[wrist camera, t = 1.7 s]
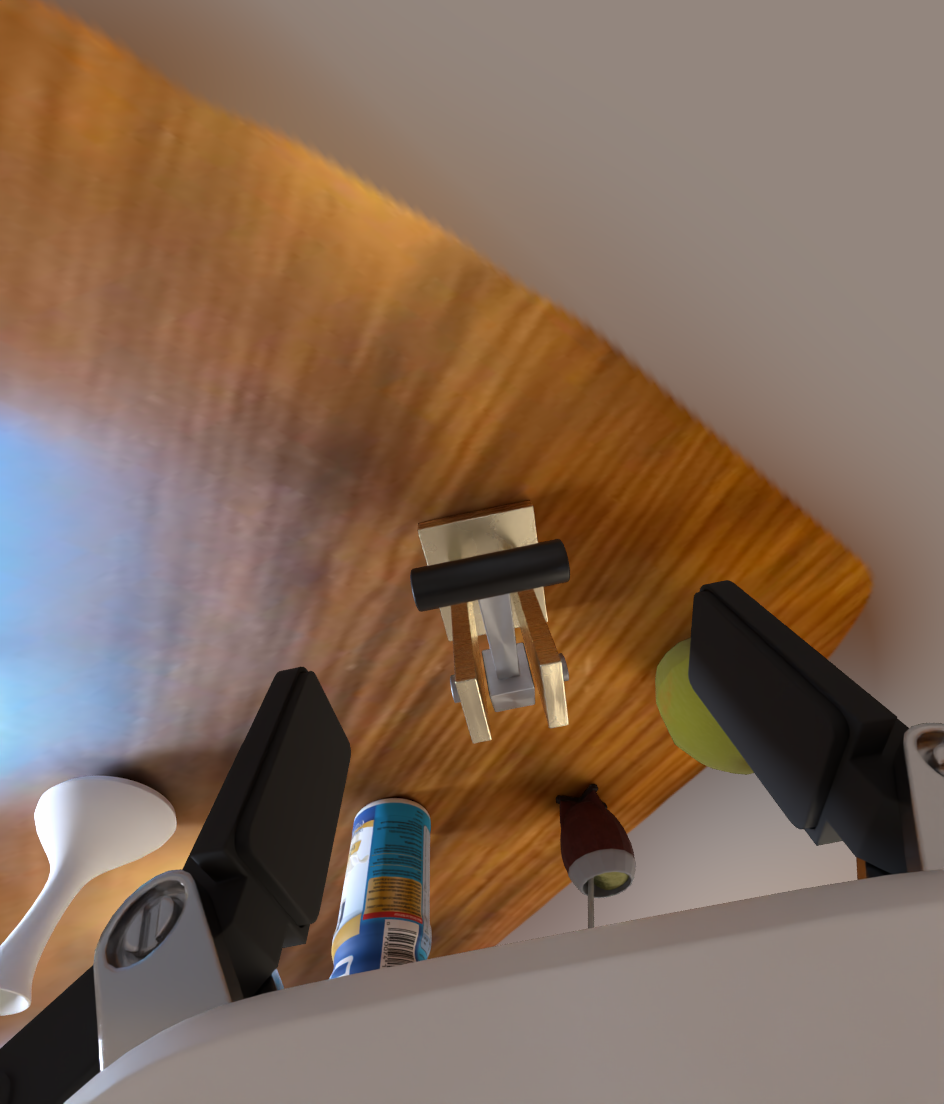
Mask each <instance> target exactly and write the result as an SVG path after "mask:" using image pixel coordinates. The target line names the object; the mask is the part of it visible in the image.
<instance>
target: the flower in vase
mask: <svg viewBox="0 0 944 1104" xmlns="http://www.w3.org/2000/svg"><path fill="white" fill-rule="evenodd" d="M35 823H36V829H37V833H38V836H39V838H40V841H41V843H42V845H43V848H44V850H45V852H46V854H47V856H48V859H49V862H50V868H51V871H50V875H49V879H48V881H47V883H46V885H45V887H44V889H43V891H42V892H41V894H40V895H39V897H38V898H37V900H36V901H35V903H34V904H33V906H32V907H31V908H30V910H29V911H28V913H27V914H26V915H25V917H24V918H23V919H22V921H21V922H20V923H19V924H18V926H17V927H16V928H15V929H14V930H13V932H12V933H11V934H10V935H9V937H8V938H7V939H6V940H5V941H4V942H3V943H2V945H1V946H0V1016H1V1015H10V1014H15V1013H19V1012H21V1011H24V1010H26V1009H27V1008H28V1007H29V1006H30V1004H31V987H32V981H33V976H34V973H35V970H36V966H37V963H38V961H39V959H40V956H41V954H42V952H43V950H44V947H45V945H46V943H47V941H48V940H49V938H50V936H51V934H52V932H53V930H54V928H55V927H56V925H57V923H58V922H59V920H60V918H61V917H62V915H63V913H64V912H65V910H66V909H67V907H68V906H69V904H70V903H71V901H72V900H73V898H74V897H75V896H76V894H77V893H78V892H79V891H80V890H81V888H82V887H83V886H84V885H85V884H87V883H88V882H89V881H90V880H91V879H93V878H95V877H96V876H98V875H100V874H102V873H105V872H107V871H109V870H112V869H114V868H117V867H120V866H122V865H125V864H128V863H130V862H132V861H135V860H137V859H140V858H142V857H144V856H146V855H148V854H149V853H151V852H153V851H155V850H157V849H158V848H160V847H161V846H162V845H163V844H164V843H165V842H166V841H167V840H168V839H169V838H170V837H171V836H172V835H173V833H174V832H175V829H176V825H177V822H176V813H175V810H174V808H173V806H172V804H171V803H170V802H169V801H168V800H167V799H166V798H165V797H164V796H163V795H162V794H160V793H159V792H157V791H156V790H154V789H152V788H150V787H148V786H146V785H144V784H141V783H138V782H135V781H132V780H128V779H124V778H119V777H112V776H83V777H77V778H73V779H70V780H67V781H65V782H62V783H60V784H58V785H56V786H54V787H52V788H50V789H49V790H47V791H46V792H45V793H44V794H43V795H42V797H41V798H40V800H39V802H38V805H37V808H36V810H35Z"/></svg>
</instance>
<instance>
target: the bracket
mask: <svg viewBox="0 0 944 1104" xmlns="http://www.w3.org/2000/svg"><path fill="white" fill-rule="evenodd" d="M418 534H419V537H420V541H421V544H422V548H423V551H424V555H425V558H426V562H427V566H429V565H434V564H439V563H443V562H448V561H453V560H458V559H463V558H468V557H473V556H477V555H482V554H487V553H492V552H497V551H502V550H507V549H511V548H516V547H521V546H526V545H531V544H536V543H538V539H537V532H536V524H535V516H534V508H533V505H532V503H531V502H530V500H527V501H523V502H518V503H513V504H508V505H503V506H499V507H494V508H489V509H484V510H479V511H475V512H470V513H465V514H460V515H455V516H451V517H446V518H441V519H436V520H431V521H427V522H422V523H418ZM510 598H511V606H512V614H513V622H514V628H518V627H520V628H521V632H522V635H523V639H524V642H525V646H526V649H527V653H528V656H529V659H530V663H531V666H532V670H533V673H534V677H535V680H536V683H537V687H538V690H539V694H540V697H541V701H542V704H543V708H544V711H545V714H546V718H547V721H548V725H549V728H555V727H560V726H565V725H568V724H569V723H568V715H567V706H566V697H565V688H564V681H568V680H569V674H568V668H567V664H566V661H565V658H564V656H563V654H562V653H560V654H558V651H557V649H556V646H555V644H554V641H553V639H552V636H551V633H550V631H549V628H548V626H547V623H546V622H547V621H548V618H547V610H546V602H545V594H544V587H540V588H535V589H530V590H525V591H520V592H515V593H510ZM440 612H441V615H442V619H443V622H444V626H445V630H446V633H447V637H448V640H449V641H453V653H454V670H455V675H451V677H450V683H451V690H452V695H453V699H454V701H455V703H458V702H461V704H462V708H463V711H464V715H465V718H466V722H467V725H468V729H469V732H470V736H471V739H472V742H473V743H478V742H483V741H488V740H491V739H492V738H491V731H490V724H489V717H488V709H487V702H486V695H485V688H484V681H483V674H482V667H481V660H480V653H479V645H478V638H477V636H479V635H483V634H486V630H485V626H484V622H483V618H482V614H481V610H480V606H479V602H478V600H476V601H471V602H466V603H461V604H456V605H452V606H447V607H442V608H440Z"/></svg>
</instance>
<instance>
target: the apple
mask: <svg viewBox="0 0 944 1104" xmlns="http://www.w3.org/2000/svg"><path fill="white" fill-rule="evenodd" d="M690 641H691V638H689V639H686V640H684V641H681V642H679V643H678V644H677V645H675V646H674V647H673V648H672V649H671V650H670V651H668V652H667V653H666V654H665V656H664V657H663V659H662V660H661V661H660V663H659V664H658V666H657V671H656V678H655V683H656V703H657V706H658V709H659V711H660V714H661V716H662V718H663V720H664V723H665V725H666V727H667V729H668V731H669V733H670V735H671V737H672V739H673V741H674V744H675V745H677V746H678V747H679V748H681V749H682V750H683V751H685V752H686V753H687V754H689V755H690V756H692V757H693V758H694V759H696V760H697V761H698V762H700V763H702V764H704V765H706V766H708V767H710V768H713V769H717V770H722V771H726V772H730V773H735V774H745V775H747V774H751V773H754V772H753V770H752V769H751V768H750V766H749V765H748V763H747V762H746V761H745V759H744V758H743V757H742V755H741V754H740V753H739V751H738V750H737V748H736V747H735V746H734V744H733V743H732V742H731V740H730V739H729V738H728V736H727V735H726V733H725V732H724V731H723V729H722V728H721V727H720V725H719V724H718V723H717V721H716V720H715V719H714V717H713V716H712V714H711V713H710V712H709V710H708V709H707V708H706V706H705V705H704V704H703V702H702V701H701V699H700V698H699V697H698V695H697V694H696V693H695V691H694V690H693V688H692V686H691V684H690V682H689V678H688V668H689V654H690Z"/></svg>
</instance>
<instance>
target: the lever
mask: <svg viewBox="0 0 944 1104" xmlns="http://www.w3.org/2000/svg"><path fill="white" fill-rule="evenodd" d="M410 579H411V588H412V593H413V597H414V601H415V604H416V606H417V608H418V610H419V611H427V610H432V609H437V608H442V607H447V606H452V605H456V604H461V603H466V602H471V601H476V600H478V602H479V606H480V610H481V614H482V618H483V622H484V626H485V630H486V634H487V638H488V642H489V646H490V649H488V650H483V651H482V656H483V661H484V667H485V673H486V678H487V684H488V690H489V695H490V699H491V702H492V704H493V707H494V710H495V712H499V711H504V710H509V709H514V708H519V707H524V706H529V705H534V704H535V689H534V683H533V679H532V675H531V671H530V667H529V663H528V659H527V655H526V651H525V646H524V643H518V644H516V638H515V630H514V622H513V614H512V606H511V598H510V593H515V592H520V591H525V590H530V589H535V588H540V587H545V586H549V585H554V584H559V583H564V582H568V581H569V579H570V567H569V561H568V557H567V553H566V550H565V547H564V545H563V543H562V541H561V540H560V539H555V540H550V541H545V542H540V543H536V544H531V545H526V546H521V547H516V548H511V549H507V550H502V551H497V552H492V553H487V554H482V555H477V556H473V557H468V558H463V559H458V560H453V561H448V562H443V563H439V564H434V565H429V566H424V567H419V568H414V569H412V570H411V575H410Z"/></svg>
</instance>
